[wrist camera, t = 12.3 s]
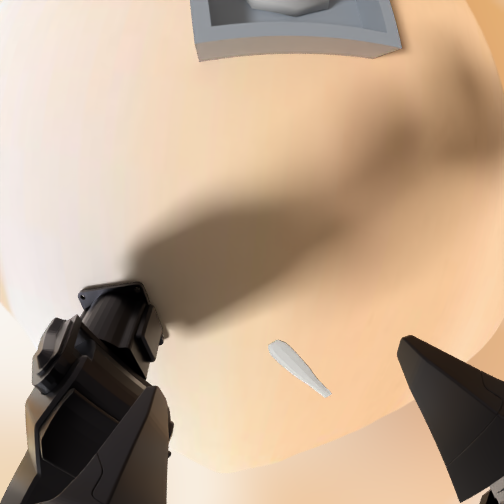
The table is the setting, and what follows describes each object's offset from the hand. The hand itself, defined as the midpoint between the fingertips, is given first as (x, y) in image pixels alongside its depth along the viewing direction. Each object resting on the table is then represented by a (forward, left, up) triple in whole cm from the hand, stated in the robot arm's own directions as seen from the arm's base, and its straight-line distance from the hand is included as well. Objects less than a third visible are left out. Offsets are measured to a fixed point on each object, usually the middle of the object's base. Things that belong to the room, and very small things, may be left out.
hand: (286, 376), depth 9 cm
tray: (+5, +20, -13) cm, 24 cm away
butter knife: (+8, -22, -14) cm, 27 cm away
